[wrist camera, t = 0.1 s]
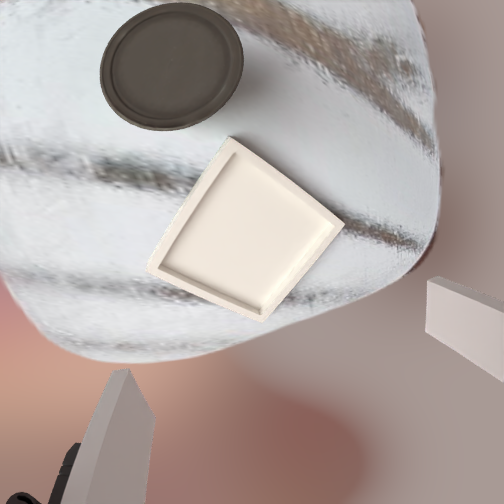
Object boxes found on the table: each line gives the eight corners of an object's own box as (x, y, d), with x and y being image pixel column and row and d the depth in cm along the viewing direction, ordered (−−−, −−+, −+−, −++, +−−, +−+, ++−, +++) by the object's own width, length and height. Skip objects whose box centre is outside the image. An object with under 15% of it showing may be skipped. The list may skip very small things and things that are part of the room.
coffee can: (131, 53, 23) (98, 18, 11) (218, 41, 25) (240, -3, 13) (138, 132, 28) (106, 144, 16) (223, 119, 30) (248, 122, 18)
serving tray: (228, 136, 31) (231, 137, 29) (337, 217, 40) (345, 224, 38) (147, 262, 37) (145, 271, 34) (258, 313, 45) (262, 323, 43)
